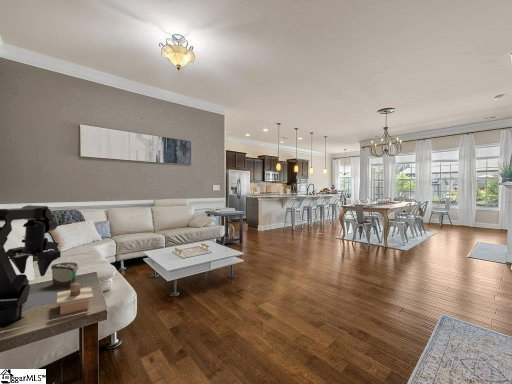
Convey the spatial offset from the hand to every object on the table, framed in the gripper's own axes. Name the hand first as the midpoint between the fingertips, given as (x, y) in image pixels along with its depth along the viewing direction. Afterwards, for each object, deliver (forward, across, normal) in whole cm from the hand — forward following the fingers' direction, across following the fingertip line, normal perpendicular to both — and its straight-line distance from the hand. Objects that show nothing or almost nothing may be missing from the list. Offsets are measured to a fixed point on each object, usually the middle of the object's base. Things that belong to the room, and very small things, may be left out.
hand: (32, 274), depth 92 cm
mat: (+12, -2, -5) cm, 13 cm away
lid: (+8, -18, -2) cm, 20 cm away
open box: (+12, -18, -2) cm, 22 cm away
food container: (+12, +4, -19) cm, 23 cm away
